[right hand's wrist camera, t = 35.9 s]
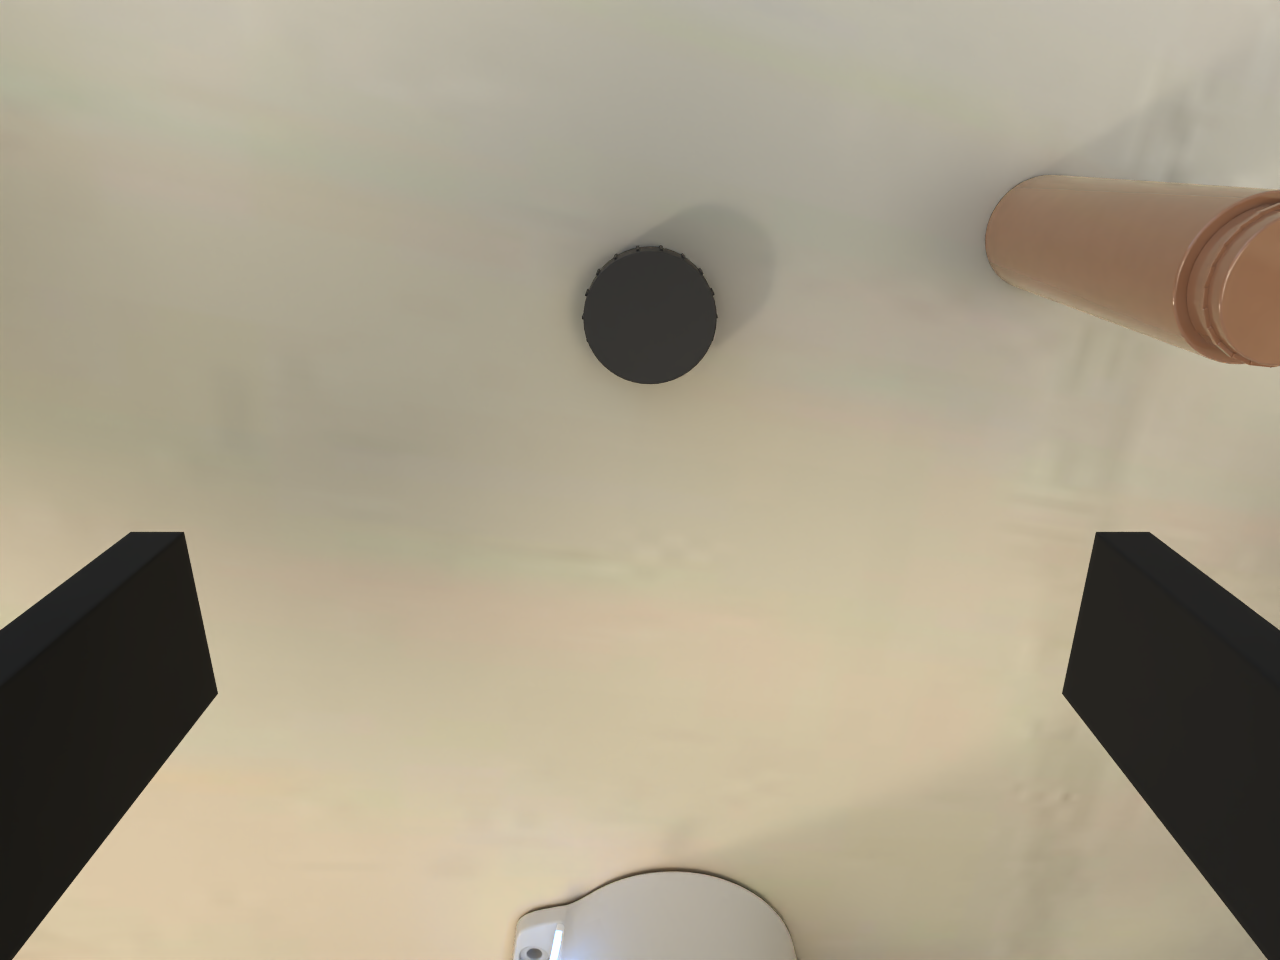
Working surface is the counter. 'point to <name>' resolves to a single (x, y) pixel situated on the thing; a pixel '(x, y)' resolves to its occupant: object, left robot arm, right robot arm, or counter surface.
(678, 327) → the lid
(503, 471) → the counter surface
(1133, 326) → the jar
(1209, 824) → the right robot arm
